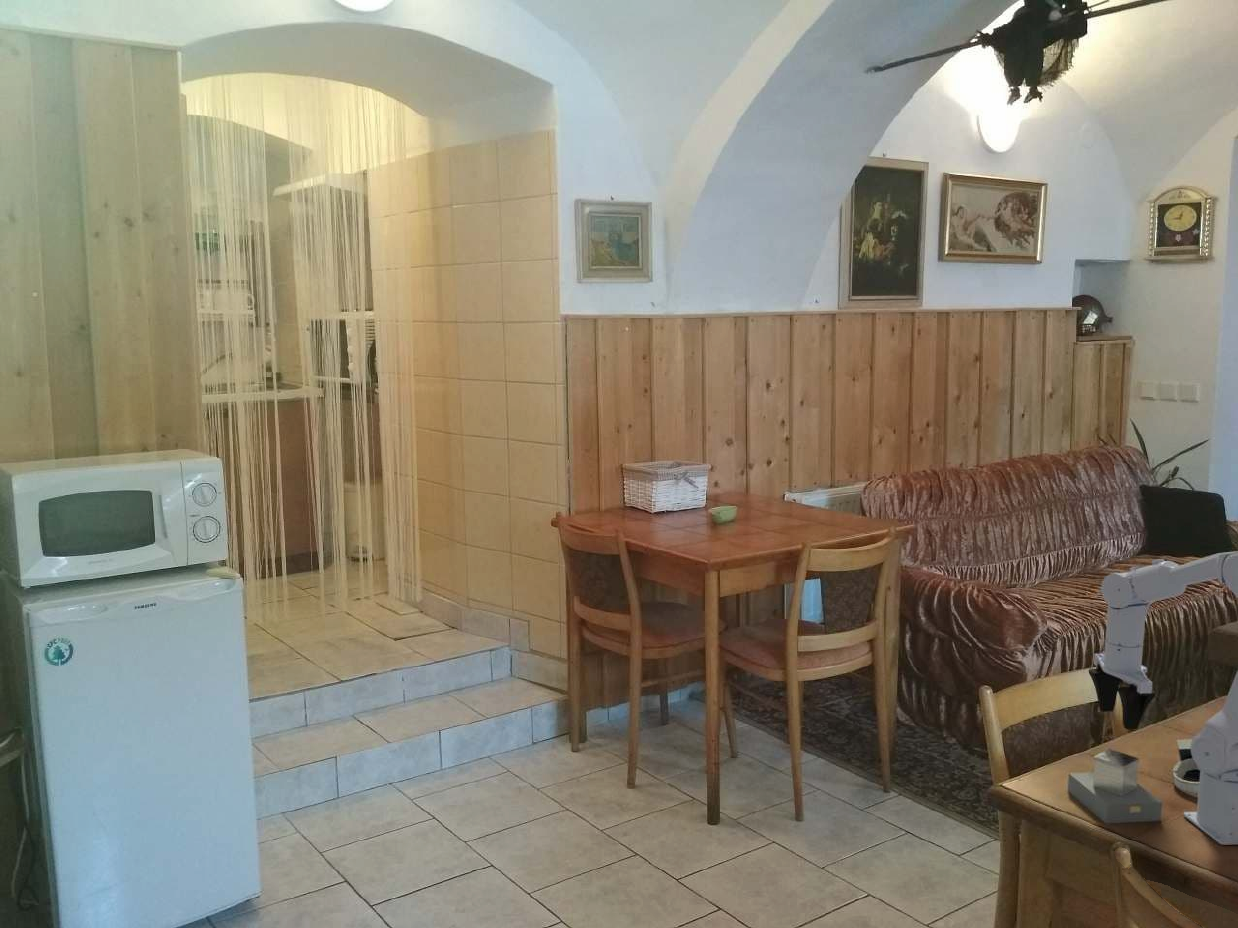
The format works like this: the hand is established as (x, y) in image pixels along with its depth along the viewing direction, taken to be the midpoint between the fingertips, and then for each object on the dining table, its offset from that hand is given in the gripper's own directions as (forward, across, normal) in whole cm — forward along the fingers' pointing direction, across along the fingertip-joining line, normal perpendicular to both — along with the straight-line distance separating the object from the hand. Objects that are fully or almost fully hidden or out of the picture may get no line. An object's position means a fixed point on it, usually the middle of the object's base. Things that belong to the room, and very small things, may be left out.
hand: (1118, 719), depth 176 cm
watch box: (+10, -12, +7) cm, 17 cm away
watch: (+6, 0, -14) cm, 15 cm away
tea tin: (+6, -12, +7) cm, 15 cm away
